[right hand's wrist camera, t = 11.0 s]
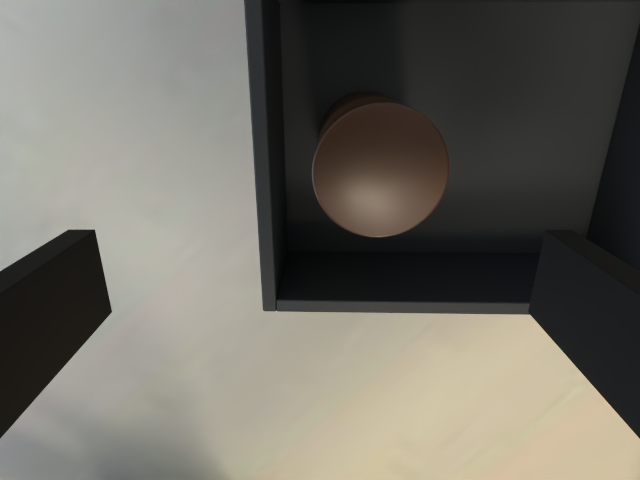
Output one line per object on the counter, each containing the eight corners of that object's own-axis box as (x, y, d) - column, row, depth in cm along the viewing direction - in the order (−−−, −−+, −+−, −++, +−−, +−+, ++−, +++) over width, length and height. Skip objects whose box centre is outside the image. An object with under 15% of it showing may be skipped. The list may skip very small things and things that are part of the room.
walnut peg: (404, 181, 22) (442, 238, 14) (319, 181, 22) (312, 237, 14) (411, 90, 20) (458, 101, 13) (318, 90, 20) (311, 101, 13)
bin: (957, -15, 18) (1301, -62, 12) (822, 260, 23) (1013, 334, 17) (267, -9, 19) (234, -51, 13) (278, 256, 24) (259, 324, 18)
